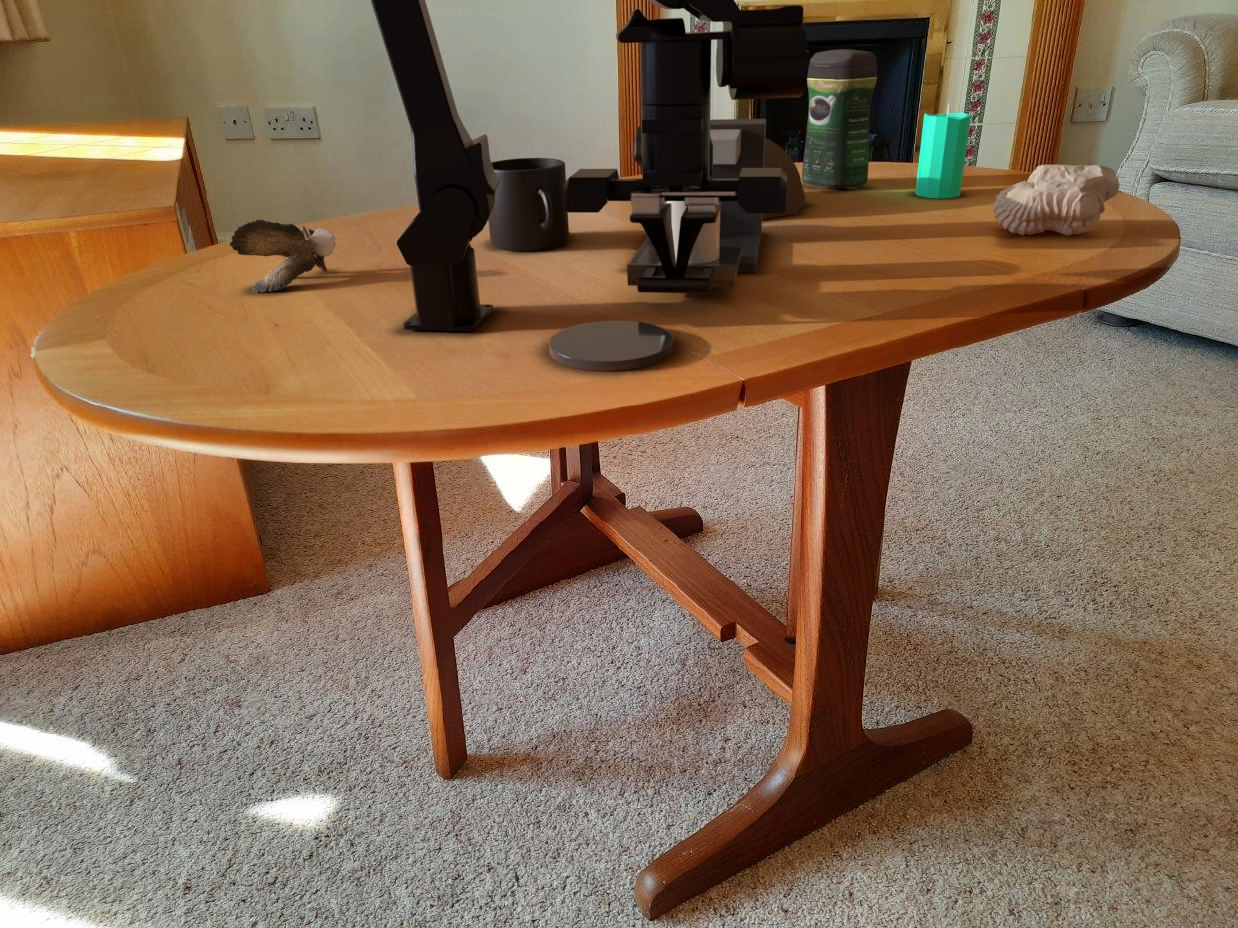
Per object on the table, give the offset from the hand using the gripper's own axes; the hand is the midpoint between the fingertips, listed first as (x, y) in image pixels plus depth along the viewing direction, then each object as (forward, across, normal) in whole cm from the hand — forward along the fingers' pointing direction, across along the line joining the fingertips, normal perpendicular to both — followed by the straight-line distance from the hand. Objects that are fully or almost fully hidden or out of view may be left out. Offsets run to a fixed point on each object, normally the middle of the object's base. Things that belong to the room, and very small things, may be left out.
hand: (676, 288), depth 80 cm
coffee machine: (+2, 0, -22) cm, 22 cm away
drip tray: (+1, 0, -7) cm, 7 cm away
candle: (+2, -30, -56) cm, 64 cm away
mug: (+2, +20, -24) cm, 32 cm away
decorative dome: (+2, -2, -47) cm, 47 cm away
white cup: (0, 0, -11) cm, 11 cm away
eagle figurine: (+2, +42, -8) cm, 43 cm away
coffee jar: (+2, -16, -63) cm, 65 cm away
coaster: (+2, +4, +11) cm, 12 cm away
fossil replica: (+2, -39, -32) cm, 51 cm away
